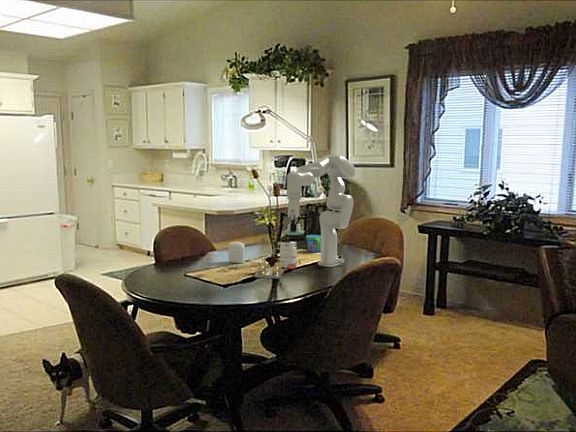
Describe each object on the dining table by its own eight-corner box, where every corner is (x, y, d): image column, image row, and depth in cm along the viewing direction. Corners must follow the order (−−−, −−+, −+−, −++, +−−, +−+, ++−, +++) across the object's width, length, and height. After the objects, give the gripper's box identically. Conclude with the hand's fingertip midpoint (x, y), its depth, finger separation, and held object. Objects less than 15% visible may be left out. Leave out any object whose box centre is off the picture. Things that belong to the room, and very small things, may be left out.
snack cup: (302, 249, 373) (303, 234, 371) (318, 248, 375) (318, 233, 374) (309, 254, 358) (309, 238, 356) (325, 253, 360) (325, 237, 359)
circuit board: (286, 230, 305) (286, 222, 304) (304, 231, 304) (304, 222, 303) (282, 234, 293) (282, 225, 293) (301, 235, 292) (301, 226, 291)
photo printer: (227, 262, 333) (227, 241, 331) (231, 260, 337) (231, 240, 335) (241, 264, 328) (241, 243, 326) (245, 262, 332) (245, 242, 330)
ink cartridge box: (296, 267, 321) (297, 242, 319) (292, 269, 317) (293, 243, 315) (283, 265, 325) (283, 240, 323) (279, 267, 321) (279, 242, 319)
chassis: (260, 270, 312) (260, 258, 311) (283, 272, 310) (283, 259, 309) (255, 277, 298) (255, 264, 297) (279, 278, 296) (279, 265, 295)
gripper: (289, 194, 304) (289, 227, 307) (284, 197, 288) (284, 232, 291) (303, 194, 303) (303, 228, 306) (299, 198, 287) (298, 233, 290)
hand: (294, 230), depth 298 cm, fingers closed on circuit board, 4 cm apart
